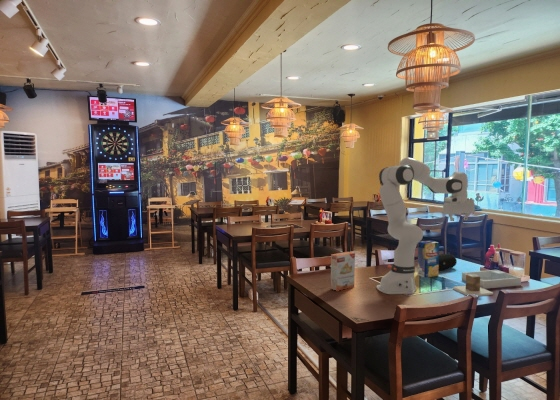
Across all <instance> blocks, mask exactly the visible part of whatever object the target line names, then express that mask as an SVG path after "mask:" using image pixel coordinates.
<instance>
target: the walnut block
mask: <svg viewBox="0 0 560 400" xmlns="http://www.w3.org/2000/svg"><path fill="white" fill-rule="evenodd" d="M465 286H466V289H468V290H470V291H480V276H477V275H475V274H469V275H466V281H465Z"/></svg>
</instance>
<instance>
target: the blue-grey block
mask: <svg viewBox="0 0 560 400" xmlns="http://www.w3.org/2000/svg"><path fill="white" fill-rule="evenodd" d="M500 271H501V270H499V271H491V280H496V279H505V273H506V272H505V273H503V272H504V271H502V272H500Z"/></svg>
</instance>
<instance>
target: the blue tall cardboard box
mask: <svg viewBox="0 0 560 400" xmlns="http://www.w3.org/2000/svg"><path fill="white" fill-rule="evenodd" d="M439 255H440V242H439V241H435V240H424V241H422V240H421V241H420V242H419V243H418V244H417V276H420V277H422V278H432V277H438V276H439V271H440V270H439Z"/></svg>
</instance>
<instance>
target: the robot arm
mask: <svg viewBox="0 0 560 400" xmlns="http://www.w3.org/2000/svg"><path fill="white" fill-rule="evenodd" d="M430 174H431V168H430V166H428V165H427V164H426V163H424V162H422V161H420V160H417V159H415V158H412V157H404V158H402V159H401V161H400V162H399V164H398V165H393V166H387V167H384V168H382V169H381V170H380V171H379V173H378V179H379V184H380V187H379V196H380V199H381V200H380V201H381V203H382V205H383V208H384V210H385V213H386V216H387V220H388V226H387V232H388V235H390V236H391V237H392V238H393V239H395V240H397V241H398V245H397V247H396V248H395V249H394V251H393V264H392V265H391V264H388V265H387V268H388V269H390V270H389V272H387V273H386V274H385V275H383V276H382V277H381V279H380V283H379V284H377V285H376V289H377V290H378V291H379V292H381V293H383V294H387V295H414V294H415V292H417V285H416V281H415V272H416V266H415V253H416V249H417V247H418V243H419V242H421V241H422V239H423V236H424V231H423V230H422V228H421V227H420V226H418V225H416V224H415V223H414V224H413V223H410V222H408V220H407V218H406V214H407V211H408V209H407V208H406V205H405V202H404V199H403V196H402V194H401V192H400V186H406V185H408V184H411V183H412V181H416V182H419V183H420V184H422V185H424V186H425V187H427V189H429V191H430V192H431V193H433V194H448V195H449V194H450V195H449V196H447V197H444V199H443V201H444V203H443V206H442V213H443V214H446V215H448V217H449V221H450V222H455V218H454V217H453V216H454V215H455V214H456V215H457V214H458V215H459V214H464V215H465V216H464V217H463V221H468V217H469V216H470V214H474V213H475V211H476V207H475V200H474V198H472V197H468V186H469V185H468V184H469V183H468V175H467V174H466V172H461V171H460V172H459V171H455V172H454V171H453V172H452V175H450V176H448V177H436V176H435V177H432V176H431V175H430Z"/></svg>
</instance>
